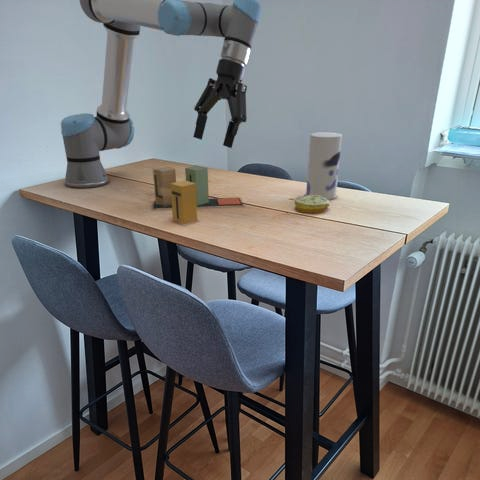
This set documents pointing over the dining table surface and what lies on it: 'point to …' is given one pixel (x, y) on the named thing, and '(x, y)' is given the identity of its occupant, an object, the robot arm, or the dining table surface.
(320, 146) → the container
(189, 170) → the sage I block
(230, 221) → the dining table surface
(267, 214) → the dining table surface
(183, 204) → the tall mustard brick
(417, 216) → the dining table surface
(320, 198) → the decorated donut
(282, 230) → the dining table surface
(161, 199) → the tan tall block
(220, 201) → the word mat
